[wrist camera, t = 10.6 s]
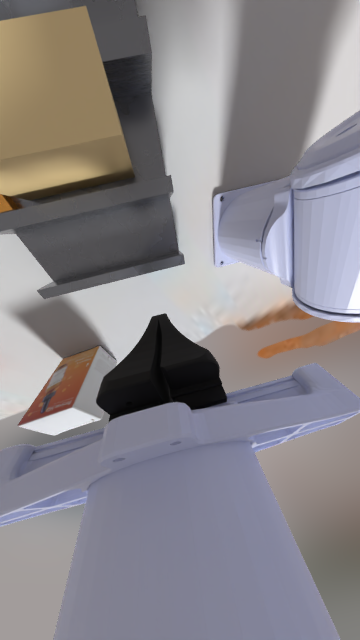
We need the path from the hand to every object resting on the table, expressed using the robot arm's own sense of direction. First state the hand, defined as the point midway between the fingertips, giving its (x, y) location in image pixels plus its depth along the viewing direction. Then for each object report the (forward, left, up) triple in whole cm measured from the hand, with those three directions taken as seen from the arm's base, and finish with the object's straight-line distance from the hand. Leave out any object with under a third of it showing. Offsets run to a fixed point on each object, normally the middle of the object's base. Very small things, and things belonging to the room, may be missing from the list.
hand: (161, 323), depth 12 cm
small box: (+17, +11, -10) cm, 23 cm away
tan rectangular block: (+4, -13, -8) cm, 16 cm away
